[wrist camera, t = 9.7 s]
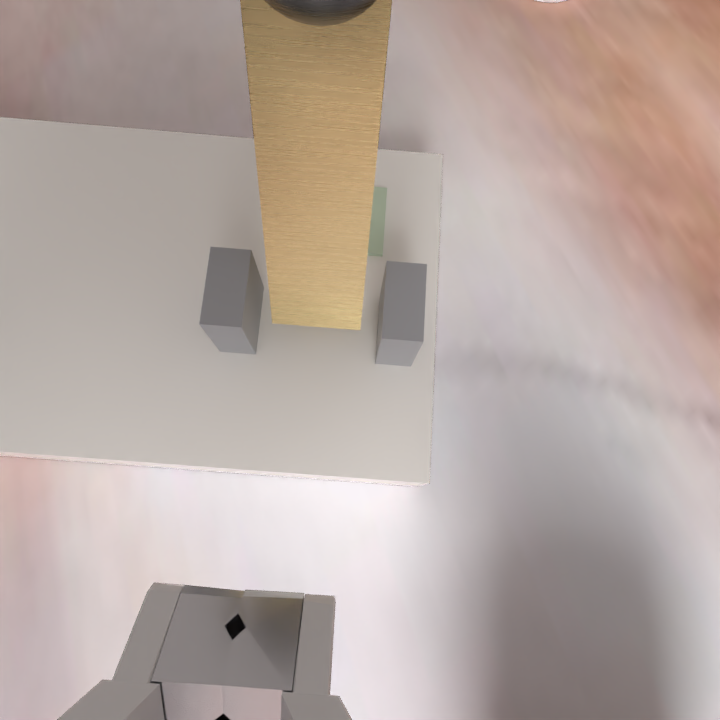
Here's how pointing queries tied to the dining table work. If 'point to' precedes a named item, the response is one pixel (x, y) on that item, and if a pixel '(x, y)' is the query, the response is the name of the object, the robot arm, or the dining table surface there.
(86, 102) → the dining table surface
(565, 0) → the dixie cup
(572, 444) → the dining table surface
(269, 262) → the brass lever
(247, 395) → the switch panel
